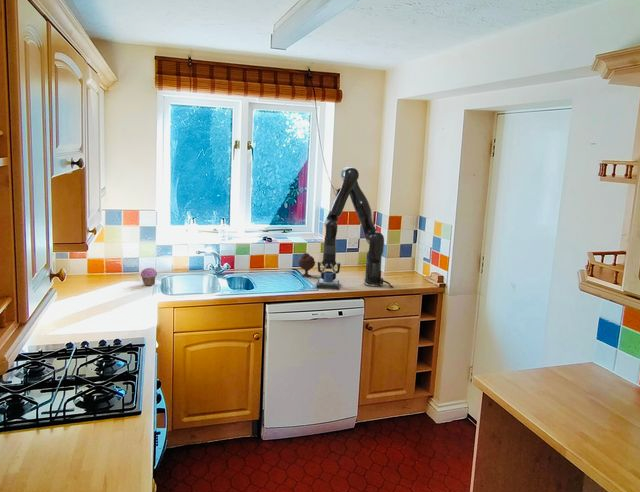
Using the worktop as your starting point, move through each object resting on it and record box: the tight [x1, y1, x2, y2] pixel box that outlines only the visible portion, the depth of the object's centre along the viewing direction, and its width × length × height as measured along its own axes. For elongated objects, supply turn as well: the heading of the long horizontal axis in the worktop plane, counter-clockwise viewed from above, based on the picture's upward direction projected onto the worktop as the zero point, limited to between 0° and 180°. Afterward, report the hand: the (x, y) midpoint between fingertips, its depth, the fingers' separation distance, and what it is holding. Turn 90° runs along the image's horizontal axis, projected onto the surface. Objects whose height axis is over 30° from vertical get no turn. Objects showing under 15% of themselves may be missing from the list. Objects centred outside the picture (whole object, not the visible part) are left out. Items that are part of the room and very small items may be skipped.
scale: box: [316, 278, 340, 290], centre depth 280 cm, size 13×13×3 cm
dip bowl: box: [323, 270, 334, 282], centre depth 281 cm, size 6×6×5 cm
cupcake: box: [140, 267, 158, 287], centre depth 269 cm, size 9×9×10 cm
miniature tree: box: [297, 252, 316, 278], centre depth 302 cm, size 11×11×15 cm
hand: (328, 279), depth 281 cm, fingers closed on dip bowl, 6 cm apart
